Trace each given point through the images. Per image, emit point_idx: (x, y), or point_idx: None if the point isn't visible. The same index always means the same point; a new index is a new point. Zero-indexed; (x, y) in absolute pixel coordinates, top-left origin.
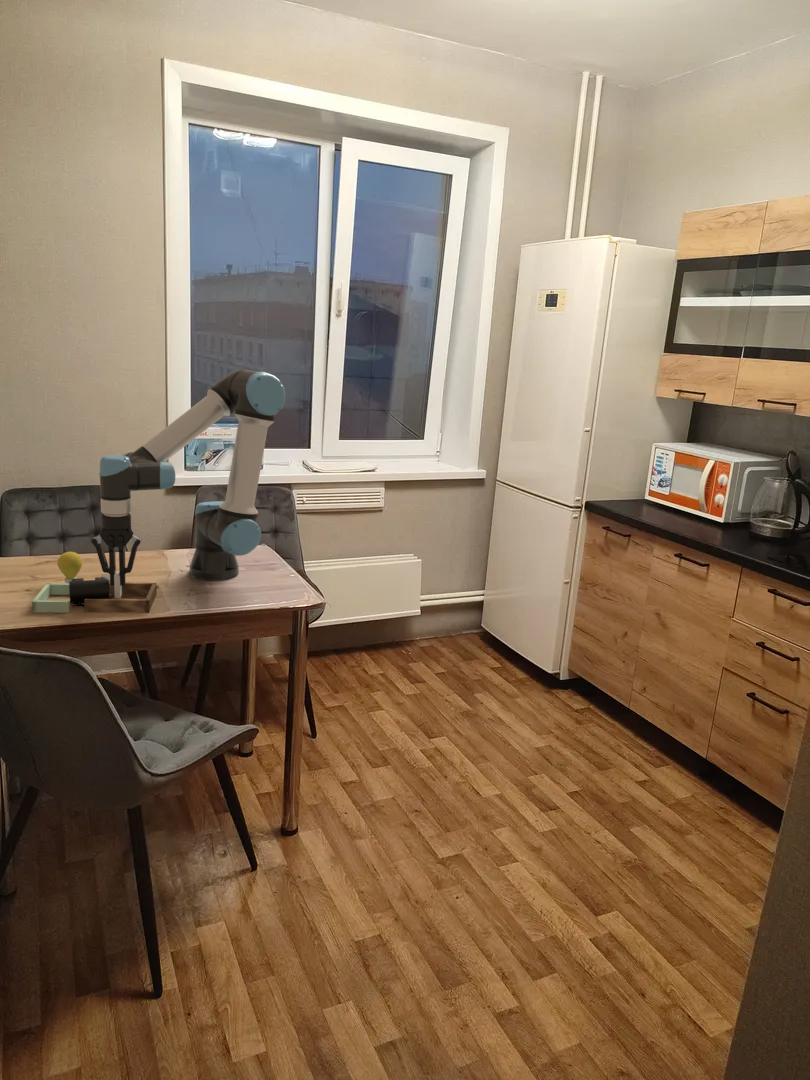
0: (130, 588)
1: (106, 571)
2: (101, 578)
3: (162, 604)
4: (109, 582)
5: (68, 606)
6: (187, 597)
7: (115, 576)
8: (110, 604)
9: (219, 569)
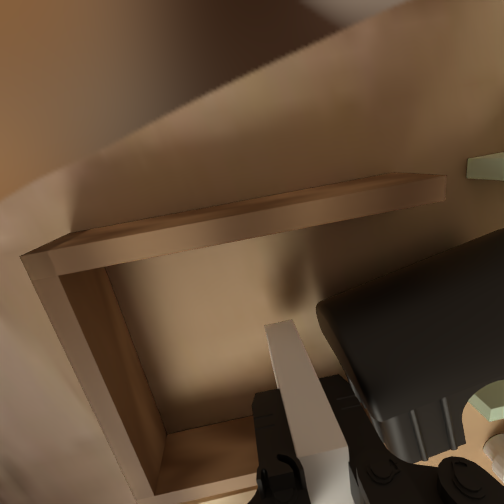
0: None
1: (443, 473)
2: (424, 442)
3: None
4: None
5: (498, 158)
6: (3, 451)
7: (331, 438)
8: (276, 202)
9: None
